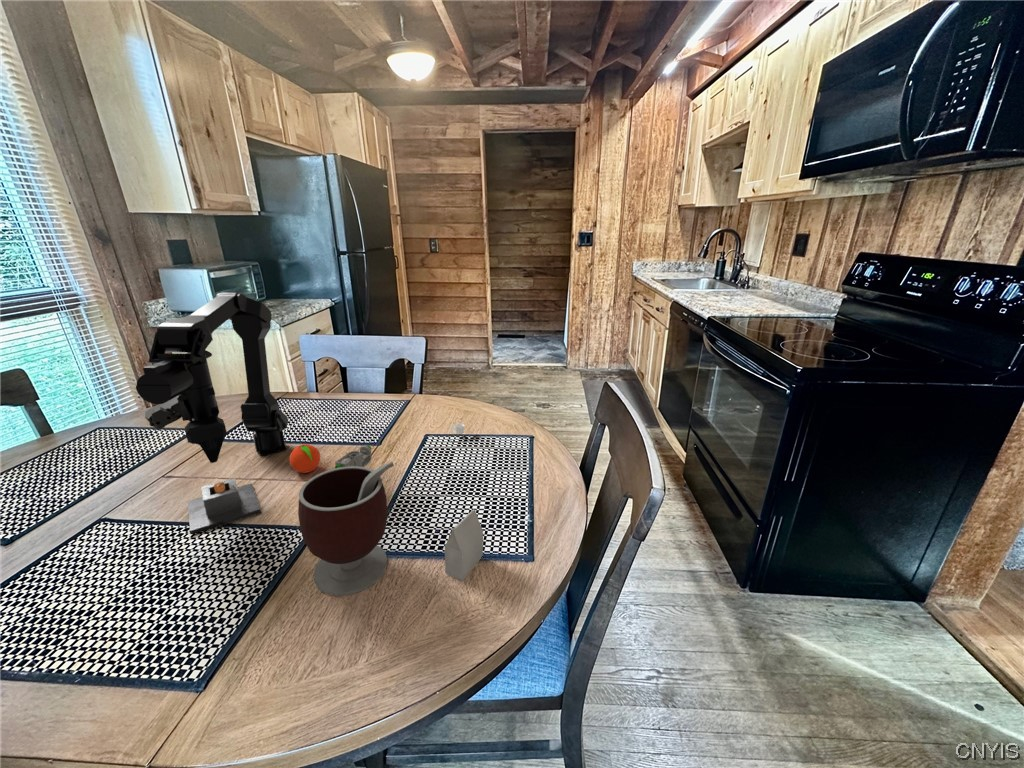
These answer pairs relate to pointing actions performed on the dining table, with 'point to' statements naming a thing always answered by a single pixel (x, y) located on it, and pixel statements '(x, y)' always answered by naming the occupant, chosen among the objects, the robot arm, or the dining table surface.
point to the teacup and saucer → (458, 428)
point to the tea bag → (464, 547)
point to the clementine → (304, 458)
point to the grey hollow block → (221, 498)
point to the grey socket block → (203, 523)
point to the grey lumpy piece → (355, 458)
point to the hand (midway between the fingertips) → (211, 452)
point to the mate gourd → (345, 527)
